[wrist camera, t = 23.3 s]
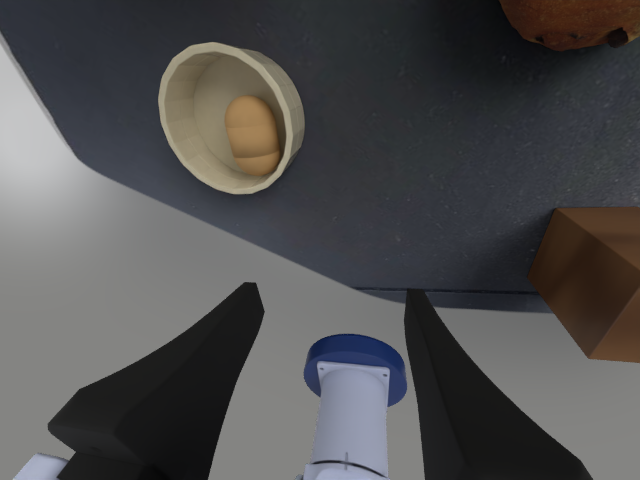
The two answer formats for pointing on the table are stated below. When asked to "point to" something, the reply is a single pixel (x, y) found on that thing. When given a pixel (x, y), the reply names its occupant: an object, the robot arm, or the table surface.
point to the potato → (252, 135)
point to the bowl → (210, 106)
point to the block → (593, 278)
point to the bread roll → (574, 22)
